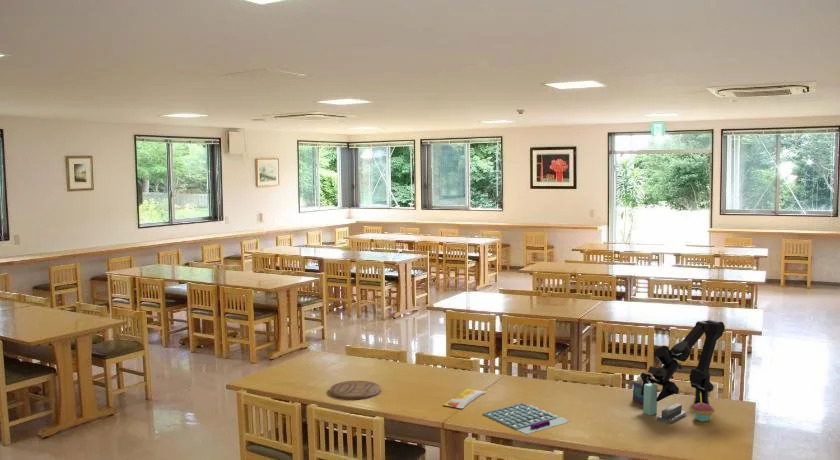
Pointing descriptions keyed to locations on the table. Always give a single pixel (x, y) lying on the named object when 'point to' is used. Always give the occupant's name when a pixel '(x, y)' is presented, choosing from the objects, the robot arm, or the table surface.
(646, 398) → the peg
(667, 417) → the grey stepped block
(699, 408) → the cupcake
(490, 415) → the calendar
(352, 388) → the trivet
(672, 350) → the robot arm
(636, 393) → the blue gift bag
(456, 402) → the food package
